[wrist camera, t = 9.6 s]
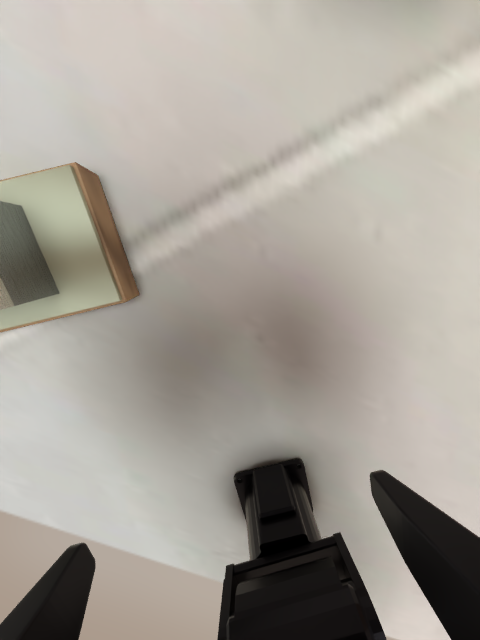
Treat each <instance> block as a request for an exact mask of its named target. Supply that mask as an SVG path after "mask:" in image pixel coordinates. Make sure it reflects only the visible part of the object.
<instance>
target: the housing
mask: <svg viewBox="0 0 480 640" xmlns="http://www.w3.org/2000/svg"><path fill="white" fill-rule="evenodd" d="M56 294H60V293H59V290H58V288H57V286H56V283H55V281H54V279H53V276H52V274H51V272H50V270H49V267H48V265H47V263H46V260H45V258H44V256H43V253H42V251H41V249H40V247H39V244H38V242H37V240H36V237H35V235H34V233H33V230H32V228H31V226H30V224H29V221H28V219H27V217H26V214H25V212H24V210H23V208H22V206H21V205H16V204H12V203H7V202H2V201H0V310H2V309H6V308H9V307H13V306H17V305H20V304H24V303H27V302H31V301H35V300H38V299H42V298H46V297H49V296H53V295H56Z"/></svg>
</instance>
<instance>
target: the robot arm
mask: <svg viewBox="0 0 480 640" xmlns="http://www.w3.org/2000/svg"><path fill="white" fill-rule="evenodd" d="M299 464H300V465H299ZM370 482H371V491H372V496H373V498H374V501H375V503H376V505H377V507H378V509H379V511H380V513H381V515H382V517H383V519H384V521H385V523H386V525H387V527H388V529H389V531H390V533H391V535H392V537H393V539H394V541H395V543H396V545H397V547H398V549H399V551H400V553H401V555H402V557H403V559H404V561H405V563H406V565H407V566H408V568H409V570H410V572H411V573H412V575H413V577H414V578H415V580H416V582H417V583H418V585H419V587H420V588H421V590H422V592H423V593H424V595H425V597H426V598H427V600H428V602H429V603H430V605H431V607H432V608H433V610H434V612H435V613H436V615H437V617H438V618H439V620H440V622H441V623H442V625H443V627H444V628H445V630H446V632H447V633H448V635H449V636H450V638H451V640H480V537H478V536H477V535H475V534H474V533H472V532H471V531H470V530H468V529H467V528H465V527H464V526H463V525H461V524H460V523H458V522H457V521H455V520H454V519H453V518H451V517H450V516H448V515H447V514H445V513H444V512H443V511H441V510H440V509H438V508H437V507H435V506H434V505H433V504H431V503H430V502H428V501H427V500H426V499H424V498H423V497H421V496H420V495H418V494H417V493H416V492H414V491H413V490H411V489H410V488H408V487H407V486H406V485H404V484H403V483H401V482H400V481H399V480H397V479H396V478H394V477H393V476H391V475H390V474H389V473H387V472H386V471H383V470H379V471H375V472H371V473H370ZM234 483H235V486H236V489H237V493H238V496H239V499H240V502H241V506H242V509H243V512H244V515H245V519H246V522H247V531H248V543H249V554H250V561H246V562H243V563H240V564H236V565H234V564H230V565H227V566H226V573H225V579H224V583H223V593H222V603H221V612H220V622H219V632H218V640H386V637H385V634H384V631H383V629H382V626H381V624H380V621H379V619H378V616H377V614H376V611H375V609H374V606H373V604H372V601H371V599H370V597H369V594H368V592H367V590H366V588H365V585H364V583H363V581H362V579H361V577H360V575H359V572H358V570H357V568H356V566H355V564H354V562H353V559H352V557H351V555H350V553H349V551H348V549H347V546H346V544H345V542H344V540H343V538H342V536H341V533H340V532H339V533H336V534H333V536H331V537H328V538H324V539H321V536H320V533H319V530H318V527H317V524H316V521H315V518H314V515H313V507H312V502H311V497H310V492H309V487H308V482H307V477H306V472H305V467H304V464H303V461H302V460H301V459H294V460H290V461H286V462H282V463H278V464H274V465H270V466H266V467H261V468H257V469H253V470H249V471H245V472H241V473H237V474H236V475H235V476H234ZM94 572H95V559H94V557H93V555H92V554H91V552H90V550H89V548H88V546H87V545H86V544H85V543H79V544H75V545H72V546H70V547H69V548H67V549H66V551H65V552H64V553H63V554H62V555H61V556H60V557H59V559H58V560H57V561H56V562H55V563H54V564H53V565H52V567H51V568H50V569H49V570H48V571H47V572H46V573H45V574H44V575H43V577H42V578H41V579H40V580H39V581H38V582H37V583H36V585H35V586H34V587H33V588H32V589H31V590H30V591H29V592H28V594H27V595H26V596H25V597H24V598H23V599H22V601H20V603H19V604H18V605H17V606H16V607H15V608H14V609H13V611H12V612H11V613H10V614H9V615H8V616H7V617H6V618H5V620H4V621H3V622H2V623H1V624H0V640H78V639H79V635H80V631H81V627H82V622H83V618H84V614H85V610H86V606H87V601H88V597H89V592H90V589H91V584H92V580H93V576H94Z"/></svg>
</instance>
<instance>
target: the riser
mask: <svg viewBox="0 0 480 640" xmlns="http://www.w3.org/2000/svg"><path fill="white" fill-rule="evenodd" d="M0 201H2V202H7V203H12V204H16V205H21V206H22V208H23V210H24V212H25V214H26V217H27V219H28V221H29V224H30V226H31V228H32V230H33V233H34V235H35V237H36V240H37V242H38V244H39V247H40V249H41V251H42V253H43V256H44V258H45V260H46V263H47V265H48V267H49V270H50V272H51V274H52V276H53V279H54V281H55V283H56V286H57V288H58V290H59V293H60V294H56V295H53V296H49V297H46V298H42V299H38V300H35V301H31V302H27V303H24V304H20V305H17V306H13V307H9V308H6V309H2V310H0V332H4V331H8V330H12V329H16V328H21V327H25V326H29V325H33V324H37V323H41V322H45V321H49V320H54V319H58V318H62V317H66V316H70V315H74V314H78V313H82V312H87V311H91V310H95V309H99V308H103V307H107V306H111V305H115V304H120V303H124V302H127V301H129V300H131V299H133V298H134V297H136V296H138V295H139V292H138V289H137V286H136V283H135V281H134V278H133V275H132V272H131V269H130V266H129V263H128V261H127V258H126V255H125V252H124V249H123V246H122V243H121V240H120V238H119V235H118V232H117V229H116V226H115V223H114V220H113V217H112V215H111V212H110V209H109V206H108V203H107V200H106V197H105V195H104V192H103V189H102V186H101V183H100V180H99V177H98V175H96V174H95V173H93V172H91V171H90V170H88V169H86V168H85V167H83V166H81V165H79V164H78V163H76V162H74V163H70V164H66V165H62V166H58V167H54V168H50V169H46V170H41V171H37V172H33V173H29V174H25V175H21V176H17V177H12V178H8V179H4V180H0Z"/></svg>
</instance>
